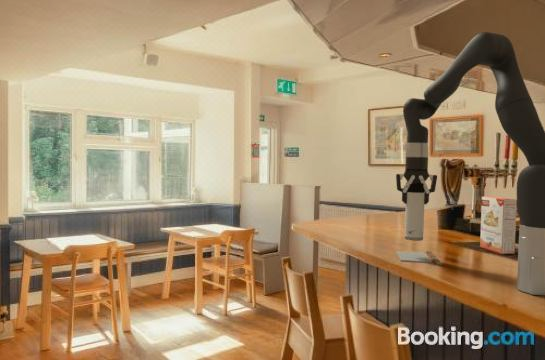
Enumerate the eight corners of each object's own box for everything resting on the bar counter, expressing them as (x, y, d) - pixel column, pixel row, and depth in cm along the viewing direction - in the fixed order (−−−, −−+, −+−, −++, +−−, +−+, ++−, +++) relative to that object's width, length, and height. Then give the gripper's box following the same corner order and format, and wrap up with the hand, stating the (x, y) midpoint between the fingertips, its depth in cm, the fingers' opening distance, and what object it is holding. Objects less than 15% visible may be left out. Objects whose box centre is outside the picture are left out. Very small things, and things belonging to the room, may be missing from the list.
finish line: (442, 265, 149) (442, 263, 149) (437, 265, 149) (437, 263, 149) (430, 252, 171) (430, 251, 171) (426, 252, 171) (426, 250, 171)
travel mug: (411, 241, 157) (413, 183, 156) (401, 238, 163) (403, 182, 163) (427, 240, 159) (429, 183, 158) (416, 237, 165) (418, 182, 164)
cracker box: (478, 247, 185) (481, 195, 184) (492, 247, 186) (494, 196, 185) (500, 254, 171) (503, 198, 170) (515, 254, 172) (517, 198, 171)
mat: (431, 262, 153) (431, 261, 152) (400, 261, 154) (400, 259, 154) (424, 253, 168) (424, 252, 168) (396, 252, 170) (396, 251, 170)
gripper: (396, 155, 157) (395, 204, 158) (440, 156, 155) (438, 205, 156) (394, 156, 165) (393, 202, 165) (436, 156, 162) (434, 203, 163)
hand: (415, 203), depth 160 cm, fingers closed on travel mug, 6 cm apart
